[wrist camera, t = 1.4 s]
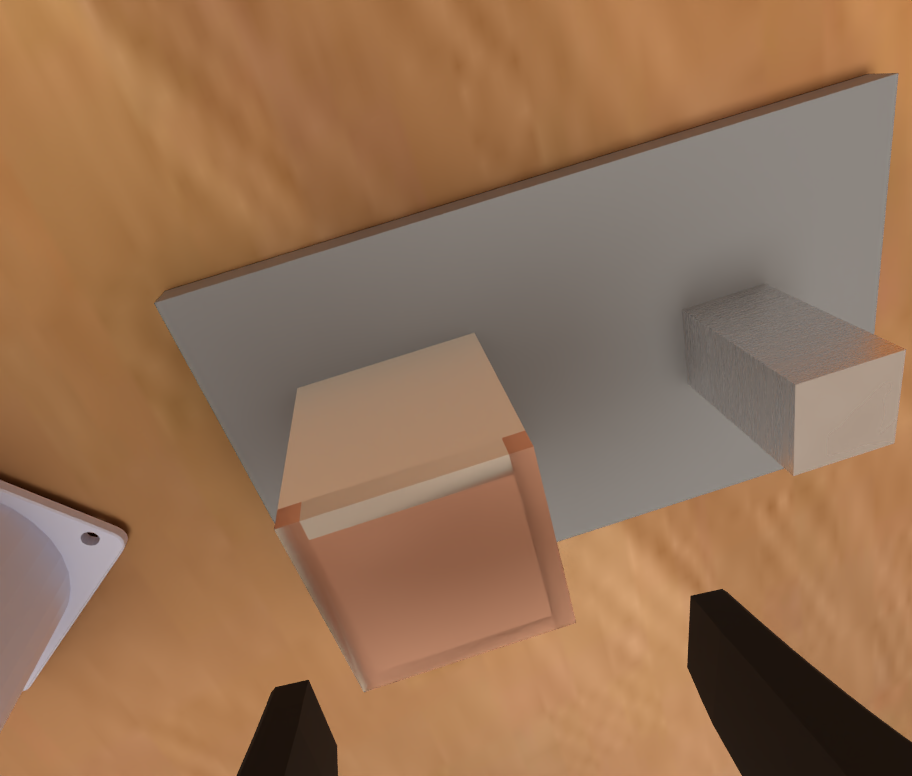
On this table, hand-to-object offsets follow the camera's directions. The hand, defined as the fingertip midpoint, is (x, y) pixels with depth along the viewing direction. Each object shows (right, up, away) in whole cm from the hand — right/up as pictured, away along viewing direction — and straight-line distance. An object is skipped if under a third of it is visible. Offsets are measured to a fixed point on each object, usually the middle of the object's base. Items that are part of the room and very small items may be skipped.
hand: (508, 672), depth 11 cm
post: (+7, +7, +8) cm, 13 cm away
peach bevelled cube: (-2, +4, +7) cm, 8 cm away
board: (+2, +6, +8) cm, 10 cm away
